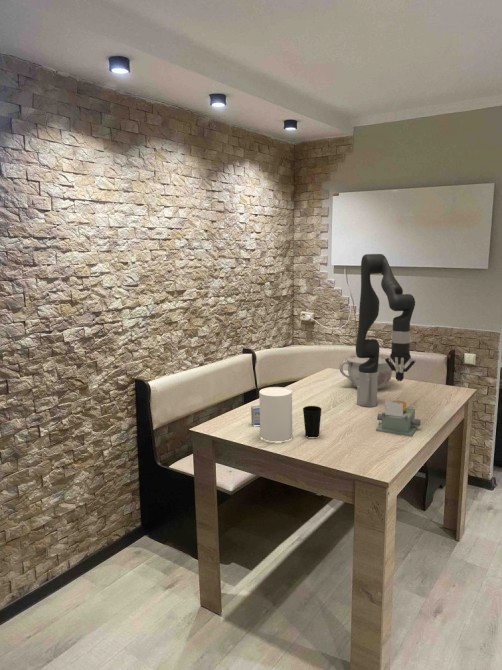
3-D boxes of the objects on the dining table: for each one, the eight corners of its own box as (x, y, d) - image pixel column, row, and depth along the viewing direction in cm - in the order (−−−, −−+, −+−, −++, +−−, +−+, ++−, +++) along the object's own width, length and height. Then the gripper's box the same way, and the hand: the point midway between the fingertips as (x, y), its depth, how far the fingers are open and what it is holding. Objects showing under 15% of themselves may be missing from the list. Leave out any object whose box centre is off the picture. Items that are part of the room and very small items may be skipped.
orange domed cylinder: (389, 425, 217) (390, 403, 215) (392, 421, 222) (393, 400, 220) (404, 428, 214) (404, 405, 212) (407, 423, 219) (407, 401, 217)
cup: (309, 431, 215) (309, 404, 213) (324, 435, 210) (324, 407, 208) (299, 436, 209) (299, 409, 207) (315, 440, 204) (315, 412, 202)
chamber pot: (400, 384, 286) (401, 348, 283) (387, 396, 263) (388, 358, 260) (353, 378, 301) (353, 345, 297) (337, 390, 277) (337, 353, 274)
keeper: (385, 417, 211) (385, 401, 208) (386, 415, 212) (385, 400, 209) (402, 419, 208) (402, 404, 205) (403, 418, 209) (402, 402, 206)
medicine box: (253, 427, 222) (253, 408, 220) (251, 424, 226) (250, 405, 224) (270, 425, 224) (270, 406, 222) (267, 422, 228) (267, 403, 227)
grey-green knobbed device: (372, 430, 214) (372, 412, 213) (382, 417, 230) (383, 401, 229) (415, 437, 206) (416, 418, 205) (423, 423, 221) (424, 406, 220)
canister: (286, 445, 200) (286, 397, 197) (255, 441, 205) (254, 394, 202) (296, 433, 213) (296, 388, 209) (266, 430, 218) (265, 385, 214)
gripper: (382, 341, 211) (382, 381, 214) (415, 343, 205) (413, 384, 208) (387, 338, 218) (386, 377, 221) (418, 340, 212) (417, 380, 214)
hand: (399, 380), depth 214 cm, fingers closed
